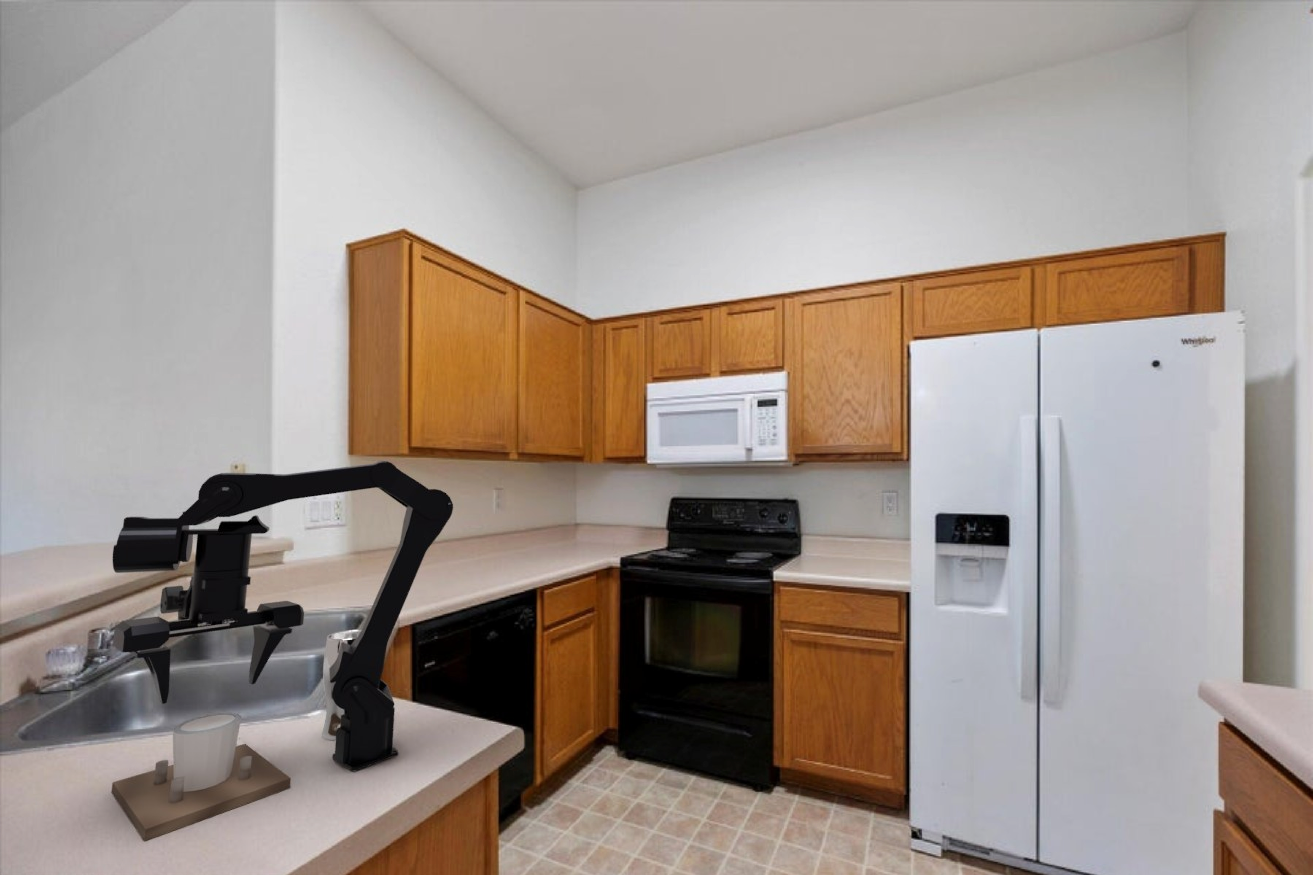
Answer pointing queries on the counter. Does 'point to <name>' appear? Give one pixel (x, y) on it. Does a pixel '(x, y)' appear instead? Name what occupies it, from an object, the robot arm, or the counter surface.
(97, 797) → the counter surface
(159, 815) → the pin board
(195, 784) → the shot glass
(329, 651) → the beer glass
